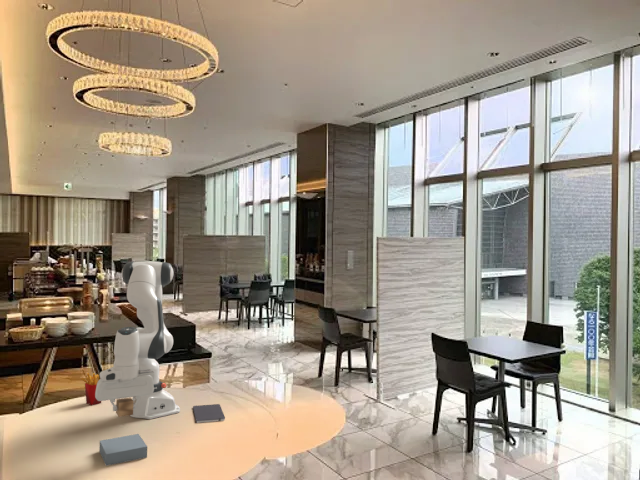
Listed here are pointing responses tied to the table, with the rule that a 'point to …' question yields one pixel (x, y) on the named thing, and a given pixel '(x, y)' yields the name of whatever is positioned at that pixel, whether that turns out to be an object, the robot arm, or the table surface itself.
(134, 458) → the slate plinth
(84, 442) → the table surface
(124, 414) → the walnut cube
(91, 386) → the french fries
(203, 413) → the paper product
